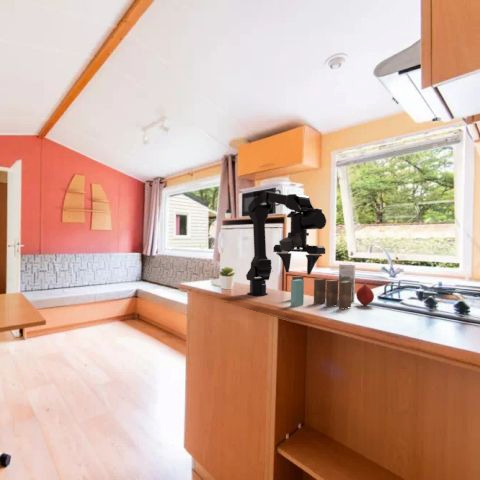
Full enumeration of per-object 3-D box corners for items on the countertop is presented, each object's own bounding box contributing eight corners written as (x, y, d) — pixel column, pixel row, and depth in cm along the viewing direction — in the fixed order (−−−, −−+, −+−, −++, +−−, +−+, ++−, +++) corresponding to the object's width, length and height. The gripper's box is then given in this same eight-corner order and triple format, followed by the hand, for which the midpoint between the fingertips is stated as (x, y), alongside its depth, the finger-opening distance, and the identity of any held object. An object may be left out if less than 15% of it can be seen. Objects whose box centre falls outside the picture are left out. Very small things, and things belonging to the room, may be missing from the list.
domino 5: (338, 308, 103) (339, 282, 103) (345, 306, 106) (346, 281, 107) (344, 309, 102) (344, 282, 102) (351, 307, 105) (351, 281, 105)
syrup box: (354, 299, 121) (355, 263, 121) (353, 301, 116) (354, 264, 116) (339, 298, 123) (340, 262, 124) (338, 300, 118) (338, 263, 118)
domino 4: (325, 305, 107) (326, 280, 107) (332, 304, 110) (333, 279, 110) (331, 306, 105) (331, 281, 105) (337, 305, 109) (338, 280, 109)
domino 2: (290, 305, 106) (291, 280, 106) (298, 304, 109) (299, 279, 109) (295, 306, 104) (295, 280, 104) (303, 304, 107) (303, 279, 108)
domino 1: (291, 299, 118) (292, 276, 118) (298, 298, 121) (299, 275, 121) (295, 300, 116) (296, 277, 116) (303, 298, 119) (303, 276, 120)
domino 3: (313, 303, 110) (314, 279, 110) (320, 302, 114) (321, 278, 114) (318, 304, 109) (319, 279, 109) (325, 302, 112) (325, 278, 112)
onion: (353, 304, 111) (353, 282, 111) (368, 304, 111) (368, 282, 111) (361, 307, 105) (361, 284, 105) (376, 307, 105) (377, 284, 106)
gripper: (264, 229, 108) (263, 272, 108) (308, 228, 95) (307, 277, 94) (283, 230, 116) (282, 270, 116) (326, 229, 102) (325, 275, 102)
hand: (297, 273), depth 107 cm, fingers open, 9 cm apart
